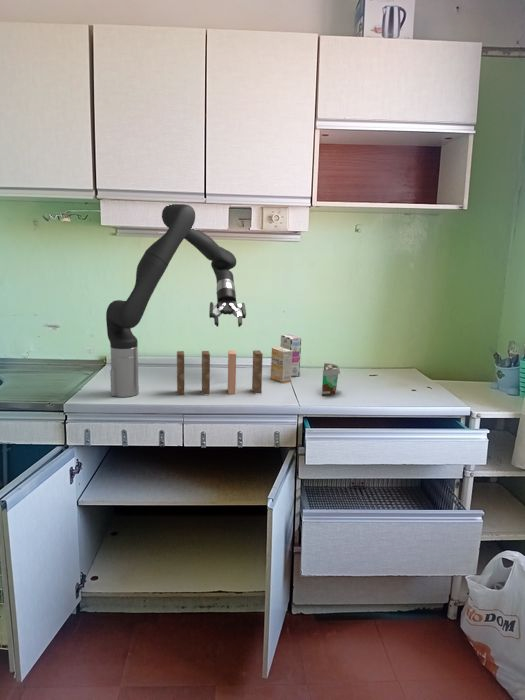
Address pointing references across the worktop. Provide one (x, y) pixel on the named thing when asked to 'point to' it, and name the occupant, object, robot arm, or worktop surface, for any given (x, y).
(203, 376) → the middle walnut tile
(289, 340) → the candy bar box
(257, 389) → the wood grain beam
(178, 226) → the robot arm
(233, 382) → the terracotta tile
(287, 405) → the worktop surface
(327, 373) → the food container
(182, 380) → the near walnut tile
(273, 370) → the supplement box
